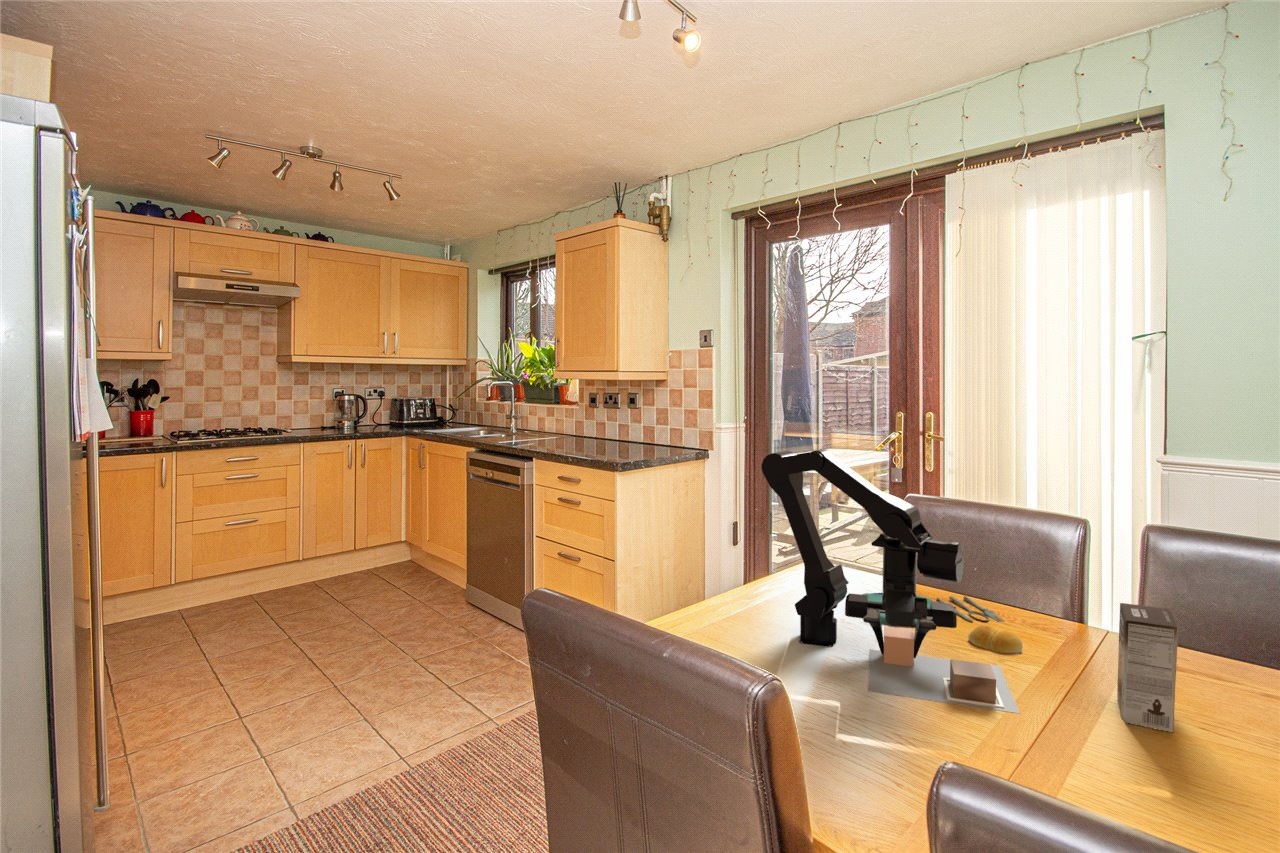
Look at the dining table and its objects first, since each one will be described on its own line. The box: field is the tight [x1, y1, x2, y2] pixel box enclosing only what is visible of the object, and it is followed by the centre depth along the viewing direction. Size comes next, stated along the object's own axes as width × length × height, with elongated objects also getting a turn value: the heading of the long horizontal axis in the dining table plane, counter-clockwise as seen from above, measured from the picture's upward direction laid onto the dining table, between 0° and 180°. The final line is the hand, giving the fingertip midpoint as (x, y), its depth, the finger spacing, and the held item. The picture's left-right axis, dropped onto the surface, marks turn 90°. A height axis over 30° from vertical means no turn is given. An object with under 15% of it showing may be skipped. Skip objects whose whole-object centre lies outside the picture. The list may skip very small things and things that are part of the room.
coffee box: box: [1116, 602, 1179, 733], centre depth 98 cm, size 9×6×16 cm
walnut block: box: [949, 658, 996, 704], centre depth 105 cm, size 6×6×4 cm
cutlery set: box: [861, 592, 1005, 626], centre depth 144 cm, size 20×30×2 cm, turn 92°
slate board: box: [867, 649, 1021, 714], centre depth 111 cm, size 22×18×1 cm
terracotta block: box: [883, 625, 914, 667], centre depth 118 cm, size 5×5×5 cm
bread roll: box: [967, 624, 1023, 655], centre depth 125 cm, size 8×9×4 cm
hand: (898, 655), depth 118 cm, fingers open, 5 cm apart
